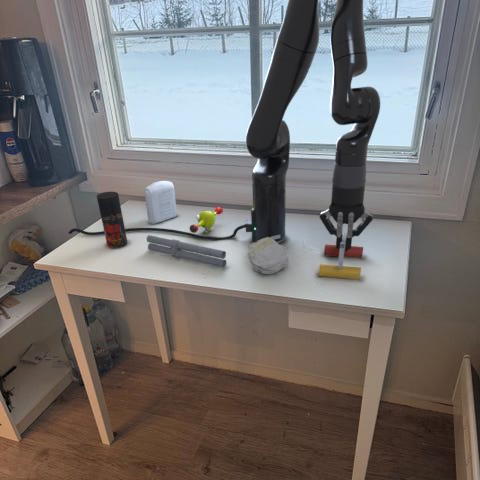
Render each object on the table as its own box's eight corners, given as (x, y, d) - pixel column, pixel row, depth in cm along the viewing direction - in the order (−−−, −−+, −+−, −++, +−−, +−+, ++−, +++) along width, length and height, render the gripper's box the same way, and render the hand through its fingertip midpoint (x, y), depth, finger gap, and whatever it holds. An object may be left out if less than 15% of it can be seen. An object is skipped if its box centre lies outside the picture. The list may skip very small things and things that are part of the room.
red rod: (323, 257, 126) (324, 247, 125) (325, 252, 129) (325, 242, 127) (361, 260, 124) (363, 249, 122) (362, 255, 126) (363, 245, 125)
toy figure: (213, 220, 152) (211, 200, 148) (228, 222, 150) (227, 202, 146) (184, 242, 139) (181, 220, 135) (200, 244, 137) (198, 222, 133)
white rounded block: (171, 213, 159) (167, 176, 152) (179, 216, 157) (175, 179, 150) (146, 222, 153) (140, 184, 147) (154, 225, 151) (148, 187, 144)
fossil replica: (294, 262, 125) (258, 261, 128) (293, 232, 121) (256, 232, 124) (283, 280, 115) (245, 279, 118) (281, 248, 111) (241, 247, 114)
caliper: (342, 270, 111) (344, 246, 108) (337, 270, 111) (339, 245, 108) (347, 235, 128) (349, 213, 124) (343, 235, 128) (345, 213, 124)
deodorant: (103, 245, 140) (92, 195, 131) (120, 238, 143) (110, 190, 135) (114, 250, 136) (104, 200, 128) (131, 243, 140) (122, 194, 131)
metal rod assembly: (227, 265, 125) (226, 248, 122) (222, 270, 123) (220, 252, 120) (152, 248, 136) (149, 232, 133) (146, 252, 134) (143, 235, 131)
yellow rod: (318, 278, 117) (319, 267, 115) (319, 272, 119) (320, 262, 118) (359, 281, 114) (360, 270, 113) (360, 276, 117) (361, 265, 115)
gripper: (378, 178, 111) (371, 245, 121) (321, 176, 114) (318, 242, 124) (378, 188, 105) (370, 258, 115) (317, 186, 108) (314, 254, 118)
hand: (343, 249), depth 119 cm, fingers closed on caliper, 1 cm apart
